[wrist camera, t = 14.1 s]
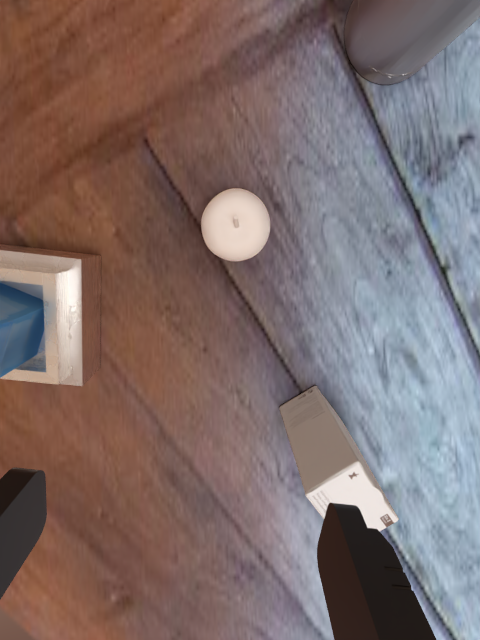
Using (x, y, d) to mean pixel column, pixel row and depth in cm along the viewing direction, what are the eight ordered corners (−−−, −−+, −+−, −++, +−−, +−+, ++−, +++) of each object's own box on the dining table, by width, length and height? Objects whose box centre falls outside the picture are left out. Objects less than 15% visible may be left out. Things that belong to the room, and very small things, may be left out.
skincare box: (278, 406, 44) (297, 493, 29) (317, 381, 43) (358, 459, 28) (311, 451, 45) (345, 554, 31) (350, 429, 44) (403, 524, 30)
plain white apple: (271, 196, 37) (280, 188, 29) (262, 261, 39) (268, 269, 31) (207, 188, 36) (200, 177, 29) (202, 254, 38) (193, 260, 31)
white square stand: (-25, 241, 38) (-87, 243, 30) (100, 255, 38) (69, 261, 31) (-14, 356, 41) (-67, 383, 34) (100, 367, 42) (71, 397, 35)
